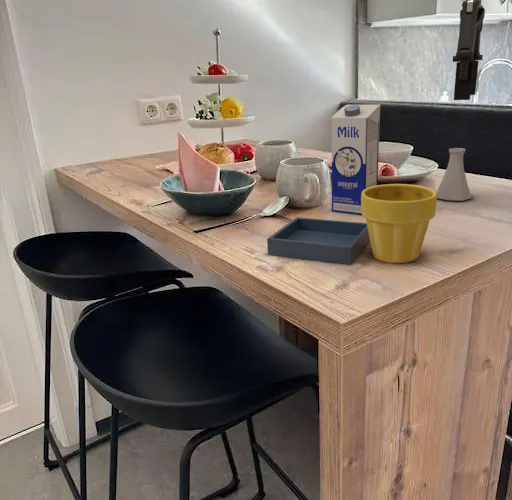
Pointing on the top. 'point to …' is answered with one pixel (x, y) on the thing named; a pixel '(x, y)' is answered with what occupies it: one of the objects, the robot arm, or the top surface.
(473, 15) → the robot arm
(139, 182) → the top surface
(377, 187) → the flower pot
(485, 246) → the top surface
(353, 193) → the milk carton
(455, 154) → the flask
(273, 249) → the tray
